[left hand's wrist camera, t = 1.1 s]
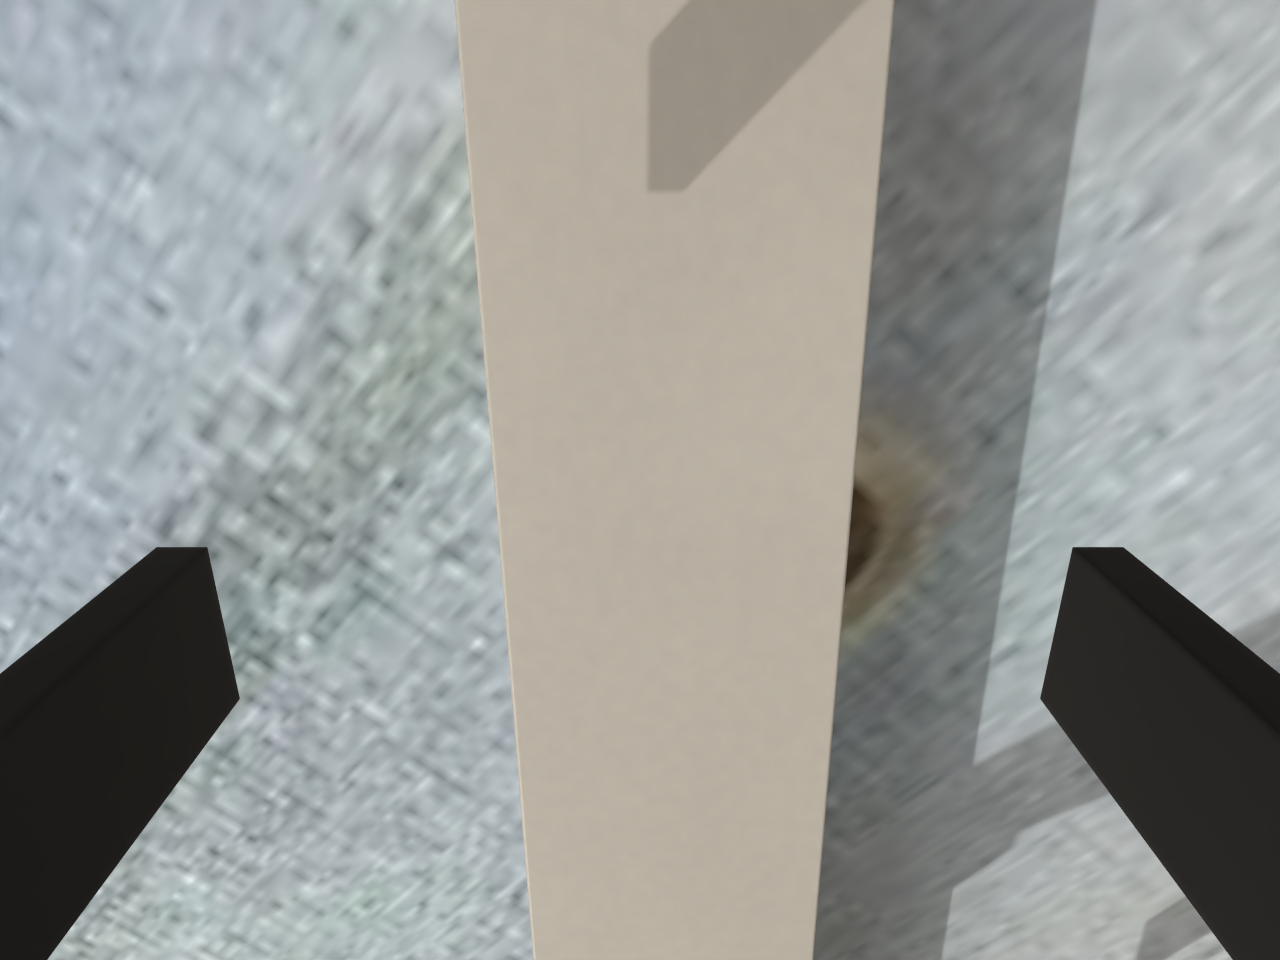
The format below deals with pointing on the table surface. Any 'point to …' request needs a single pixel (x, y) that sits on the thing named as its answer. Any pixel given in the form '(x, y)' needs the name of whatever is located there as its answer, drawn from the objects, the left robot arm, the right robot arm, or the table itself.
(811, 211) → the wide beam
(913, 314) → the table surface
